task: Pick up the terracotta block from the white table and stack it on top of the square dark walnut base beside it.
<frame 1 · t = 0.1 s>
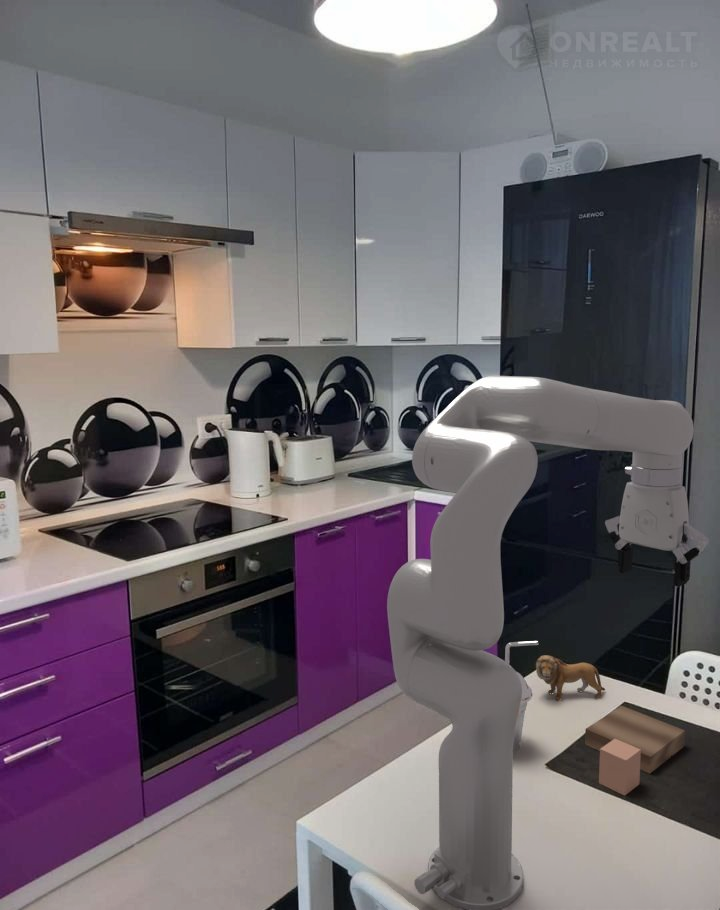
hand: (652, 577, 123), 31 cm above the table, tool pointing down, fingers open, 9 cm apart
walnut base: (634, 745, 130), on the table
cup with straw: (508, 746, 131), on the table
terracotta block: (619, 783, 119), on the table
lion figurine: (568, 697, 148), on the table
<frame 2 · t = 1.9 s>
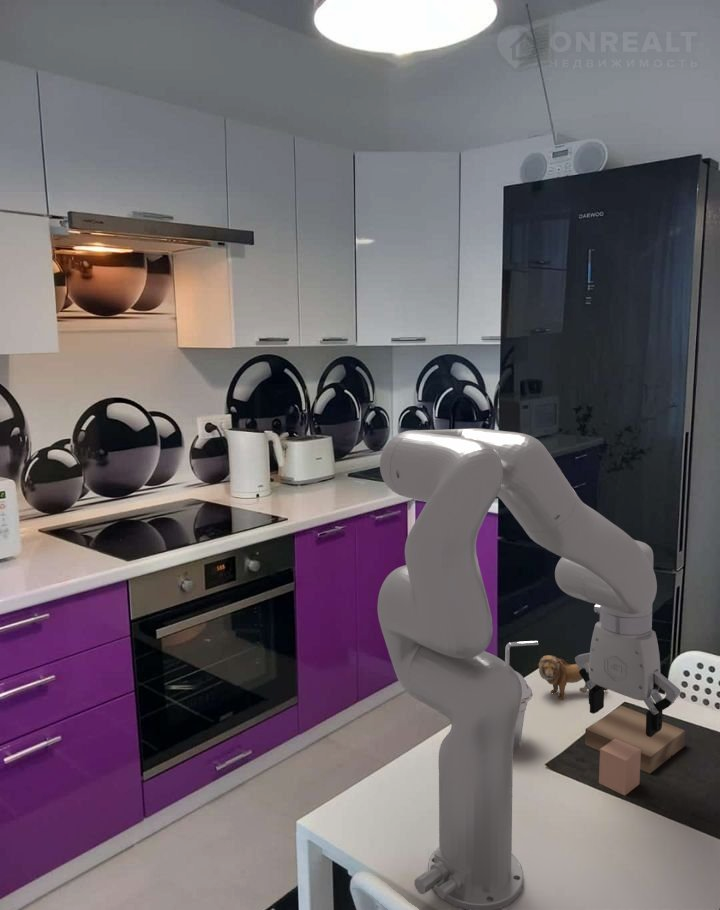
hand: (624, 721, 118), 10 cm above the table, tool pointing down, fingers open, 9 cm apart
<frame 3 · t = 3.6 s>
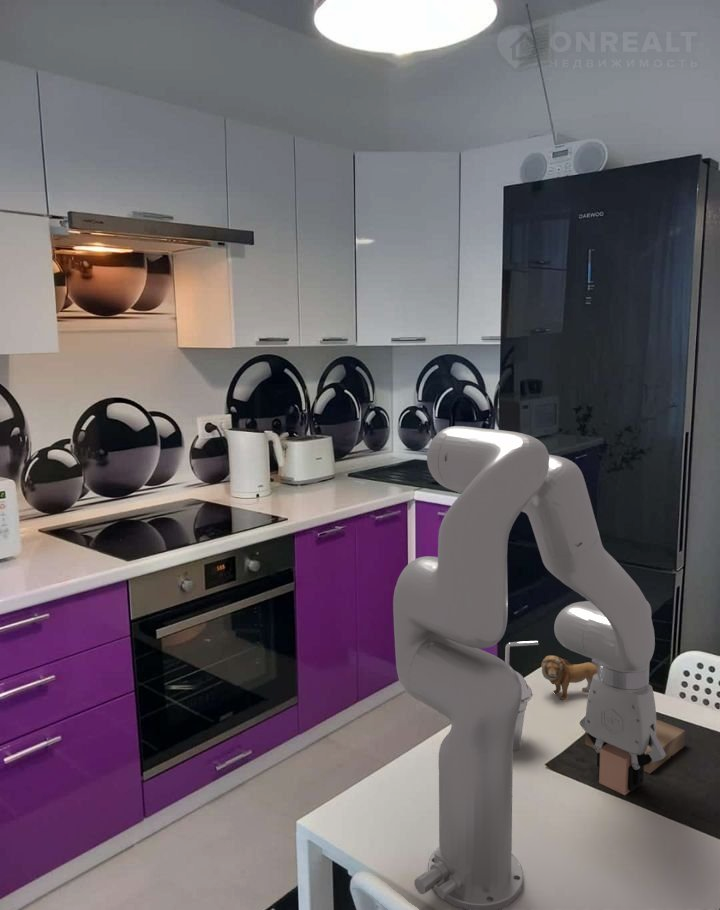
hand: (619, 779, 119), 1 cm above the table, tool pointing down, fingers closed on terracotta block, 4 cm apart
terracotta block: (619, 783, 119), on the table, touching gripper
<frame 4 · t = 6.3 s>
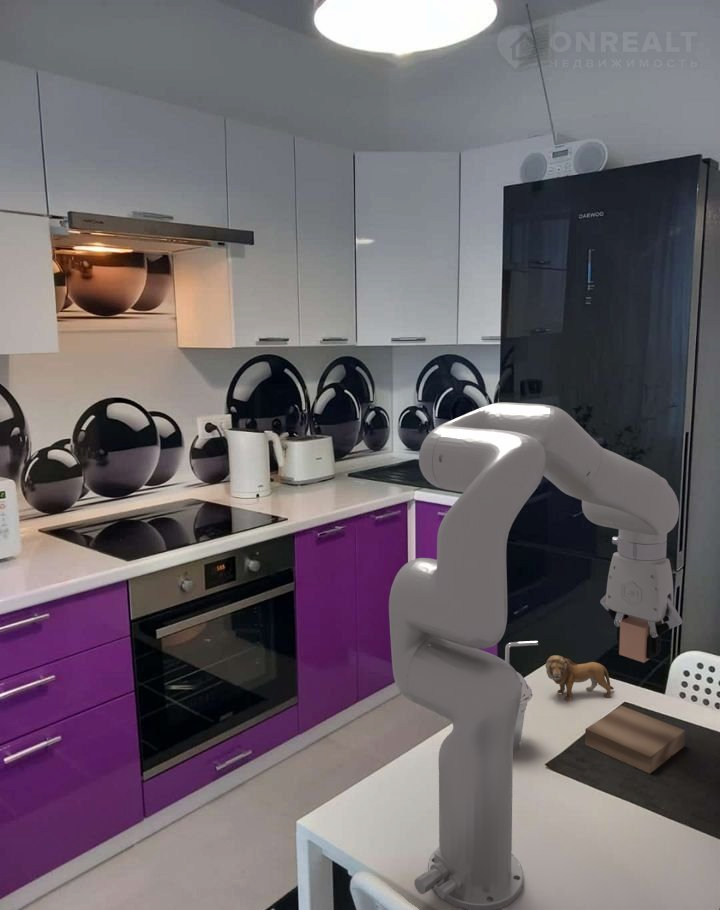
hand: (638, 650, 127), 18 cm above the table, tool pointing down, fingers closed on terracotta block, 4 cm apart
terracotta block: (638, 654, 127), point 17 cm above the table, touching gripper
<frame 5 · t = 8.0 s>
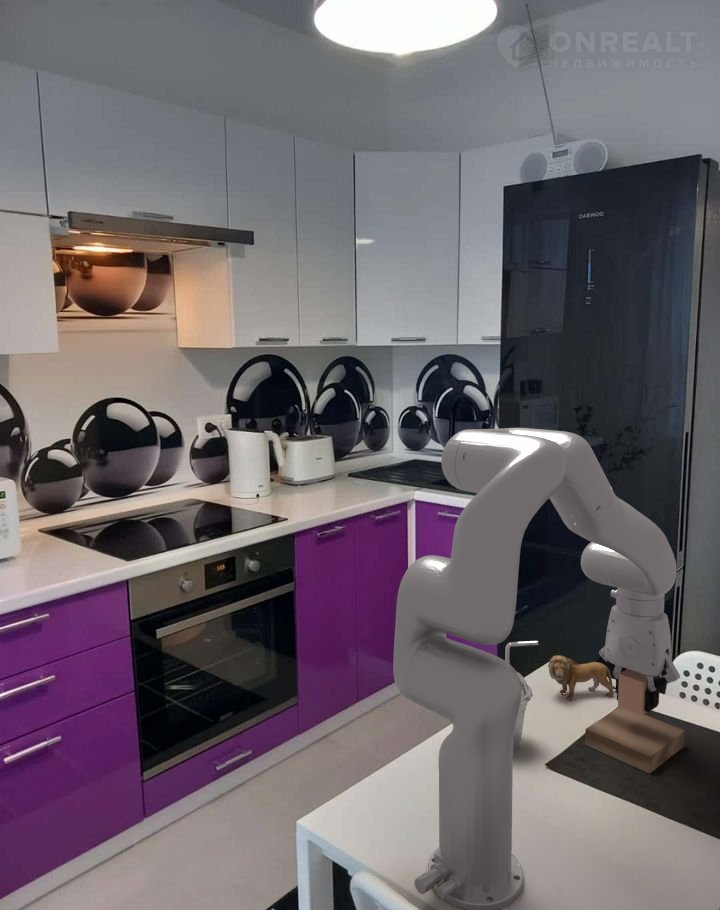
hand: (636, 702, 129), 8 cm above the table, tool pointing down, fingers closed on terracotta block, 4 cm apart
terracotta block: (636, 706, 129), point 7 cm above the table, touching gripper
when the fingers open (5 cm above the table, at t = 9.4 s): terracotta block drops 1 cm, resting on walnut base.
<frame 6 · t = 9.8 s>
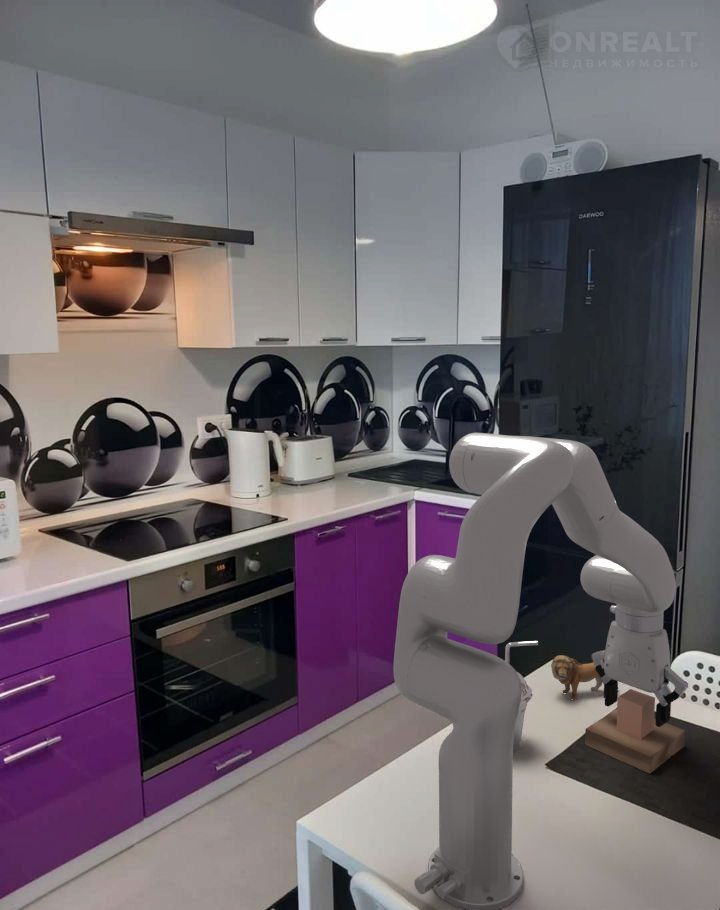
hand: (635, 713, 129), 6 cm above the table, tool pointing down, fingers open, 9 cm apart
terracotta block: (635, 729, 129), point 3 cm above the table, touching walnut base
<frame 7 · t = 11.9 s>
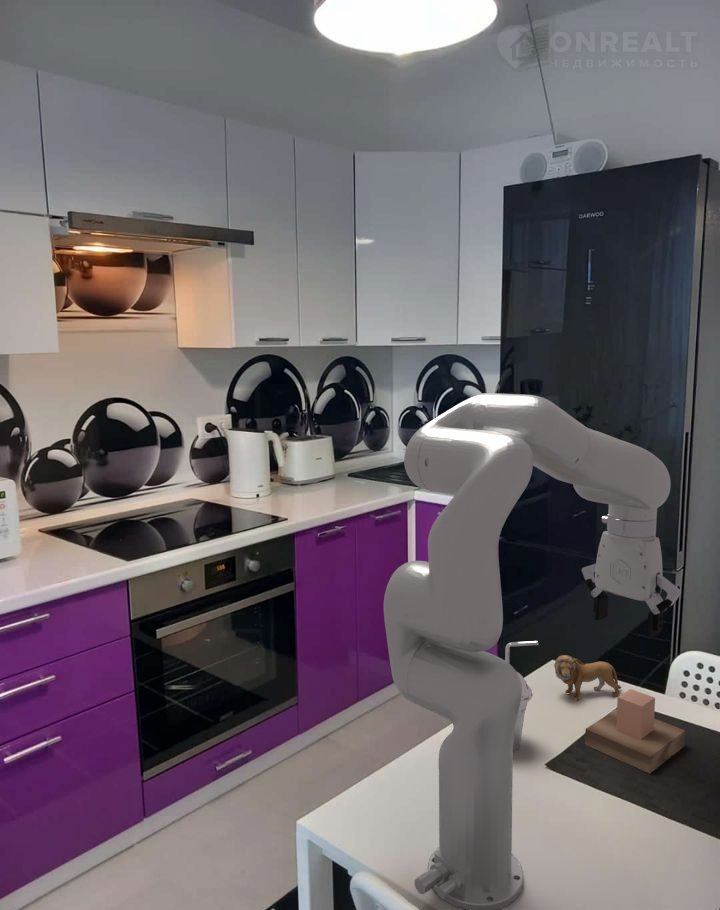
hand: (626, 626, 125), 22 cm above the table, tool pointing down, fingers open, 9 cm apart
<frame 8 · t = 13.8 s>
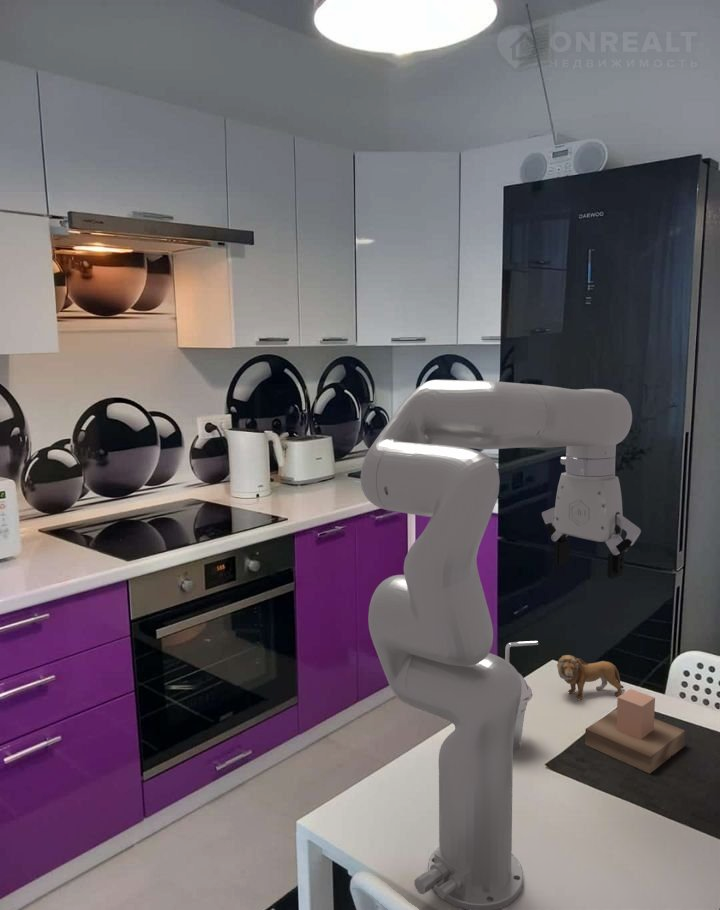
hand: (587, 569, 121), 33 cm above the table, tool pointing down, fingers open, 9 cm apart
at the end: terracotta block inside the target area on the walnut base (0.0 cm from its centre), point 3.0 cm above the walnut base's base; terracotta block tilted 0°; the gripper is holding nothing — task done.
